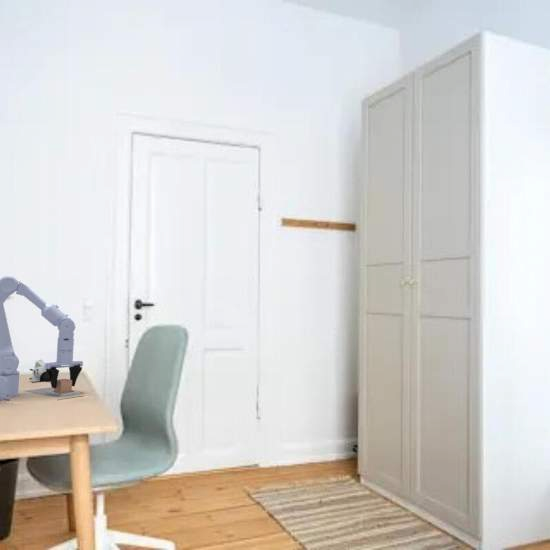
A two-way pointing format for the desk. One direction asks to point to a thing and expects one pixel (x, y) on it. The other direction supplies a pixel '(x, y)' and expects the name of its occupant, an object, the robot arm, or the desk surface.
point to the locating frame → (62, 393)
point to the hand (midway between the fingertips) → (63, 386)
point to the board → (43, 391)
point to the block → (63, 386)
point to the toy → (40, 372)
